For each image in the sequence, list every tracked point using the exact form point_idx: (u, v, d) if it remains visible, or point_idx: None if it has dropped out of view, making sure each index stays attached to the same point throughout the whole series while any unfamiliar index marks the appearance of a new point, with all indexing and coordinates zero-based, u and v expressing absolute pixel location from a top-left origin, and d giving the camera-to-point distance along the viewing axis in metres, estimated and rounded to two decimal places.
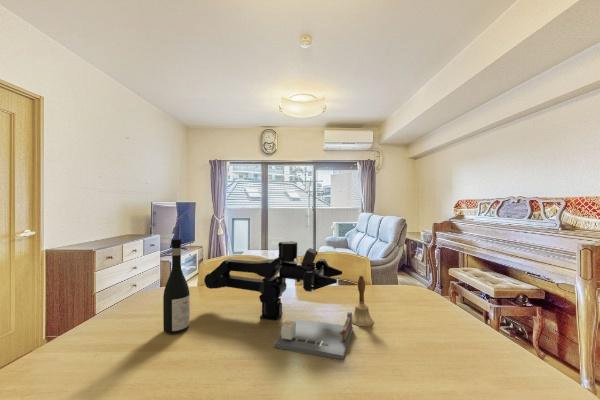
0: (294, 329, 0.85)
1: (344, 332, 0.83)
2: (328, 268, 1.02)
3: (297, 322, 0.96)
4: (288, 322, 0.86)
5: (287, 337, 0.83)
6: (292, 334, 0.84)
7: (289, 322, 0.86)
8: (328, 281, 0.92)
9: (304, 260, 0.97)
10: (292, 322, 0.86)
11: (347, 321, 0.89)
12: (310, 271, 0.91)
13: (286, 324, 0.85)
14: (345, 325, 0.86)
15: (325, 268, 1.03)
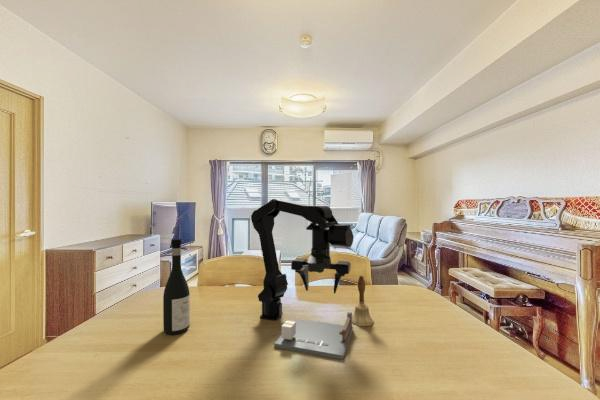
0: (294, 329, 0.85)
1: (344, 332, 0.83)
2: (335, 278, 0.90)
3: (297, 322, 0.96)
4: (288, 322, 0.86)
5: (287, 337, 0.83)
6: (292, 334, 0.84)
7: (289, 322, 0.86)
8: None
9: None
10: (292, 322, 0.86)
11: (347, 321, 0.89)
12: (295, 267, 0.92)
13: (286, 324, 0.85)
14: (345, 325, 0.86)
15: None
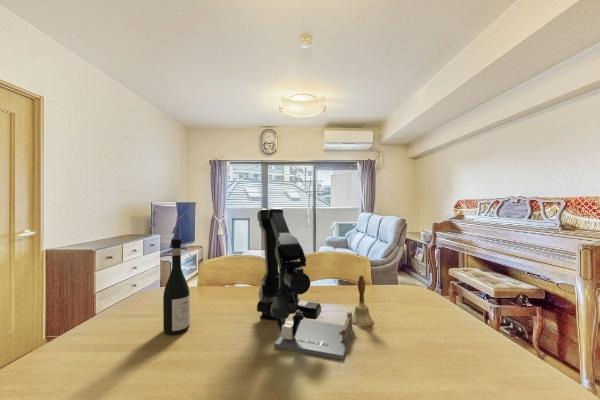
0: None
1: (344, 332, 0.83)
2: None
3: None
4: (288, 322, 0.86)
5: (287, 337, 0.83)
6: (292, 334, 0.84)
7: (289, 322, 0.86)
8: None
9: None
10: (292, 322, 0.86)
11: (347, 321, 0.89)
12: (261, 309, 0.85)
13: (286, 324, 0.85)
14: (345, 325, 0.86)
15: None
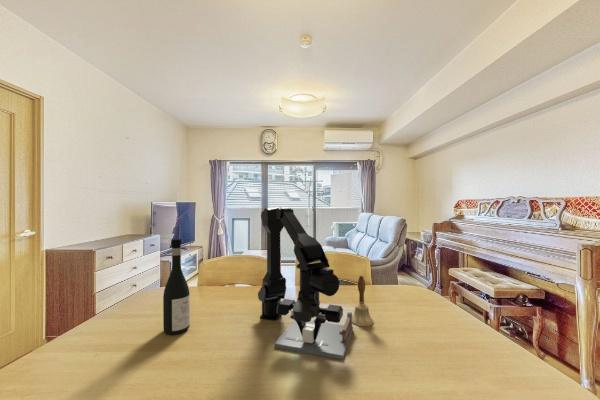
0: None
1: (344, 332, 0.83)
2: None
3: None
4: (308, 325, 0.84)
5: (308, 341, 0.81)
6: (313, 337, 0.82)
7: (309, 325, 0.84)
8: None
9: None
10: (313, 325, 0.84)
11: (347, 321, 0.89)
12: (281, 312, 0.82)
13: (307, 327, 0.82)
14: (345, 325, 0.86)
15: None
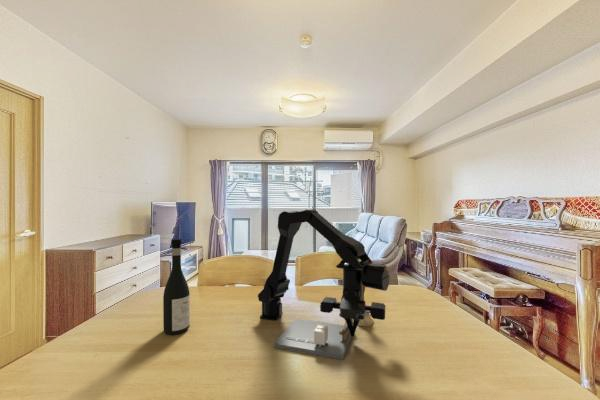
0: (326, 334, 0.82)
1: (344, 332, 0.83)
2: None
3: (297, 322, 0.96)
4: (320, 327, 0.83)
5: (320, 342, 0.80)
6: (325, 339, 0.80)
7: (321, 327, 0.83)
8: None
9: None
10: (324, 327, 0.83)
11: None
12: (325, 309, 0.84)
13: (318, 329, 0.81)
14: (345, 325, 0.86)
15: None
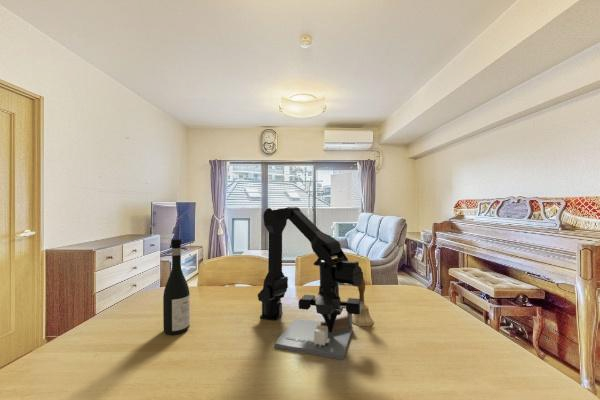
0: (326, 334, 0.82)
1: (321, 324, 0.88)
2: (330, 316, 0.86)
3: (297, 322, 0.96)
4: (320, 327, 0.83)
5: (320, 342, 0.80)
6: (325, 339, 0.80)
7: (321, 327, 0.83)
8: None
9: None
10: (324, 327, 0.83)
11: (338, 318, 0.91)
12: (303, 306, 0.86)
13: (318, 329, 0.81)
14: None
15: None
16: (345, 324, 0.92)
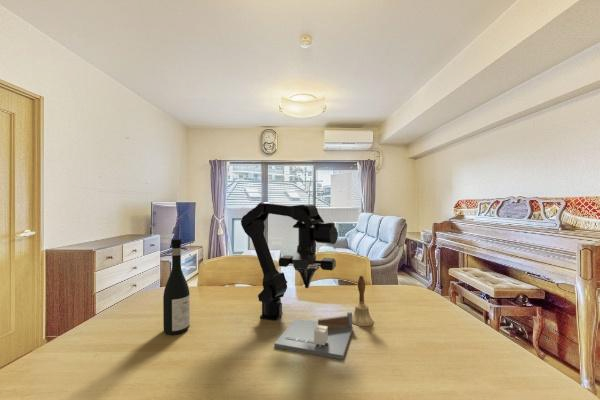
0: (326, 334, 0.82)
1: (318, 322, 0.90)
2: None
3: (297, 322, 0.96)
4: (320, 327, 0.83)
5: (320, 342, 0.80)
6: (325, 339, 0.80)
7: (321, 327, 0.83)
8: None
9: None
10: (324, 327, 0.83)
11: (336, 317, 0.92)
12: (282, 264, 0.95)
13: (318, 329, 0.81)
14: (328, 318, 0.91)
15: None
16: (344, 324, 0.92)
